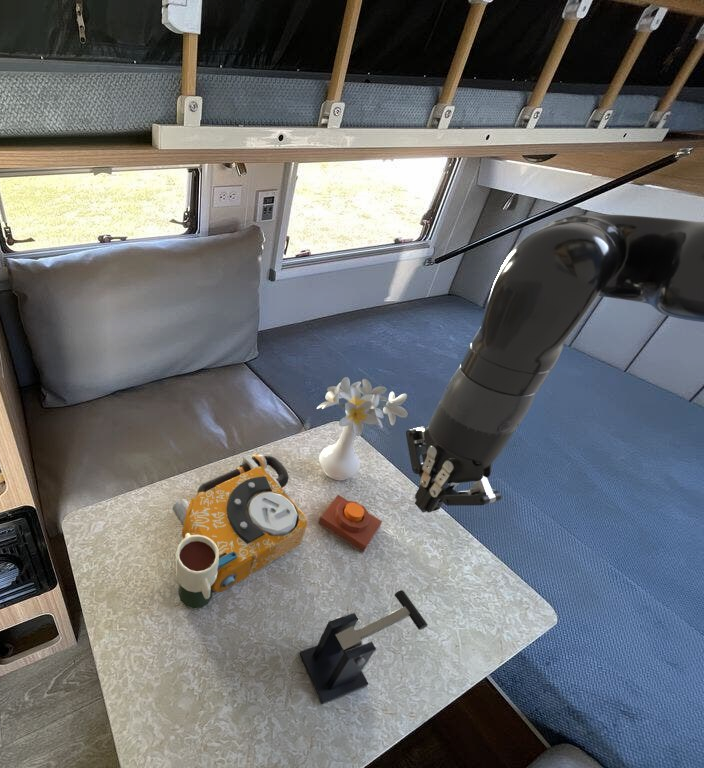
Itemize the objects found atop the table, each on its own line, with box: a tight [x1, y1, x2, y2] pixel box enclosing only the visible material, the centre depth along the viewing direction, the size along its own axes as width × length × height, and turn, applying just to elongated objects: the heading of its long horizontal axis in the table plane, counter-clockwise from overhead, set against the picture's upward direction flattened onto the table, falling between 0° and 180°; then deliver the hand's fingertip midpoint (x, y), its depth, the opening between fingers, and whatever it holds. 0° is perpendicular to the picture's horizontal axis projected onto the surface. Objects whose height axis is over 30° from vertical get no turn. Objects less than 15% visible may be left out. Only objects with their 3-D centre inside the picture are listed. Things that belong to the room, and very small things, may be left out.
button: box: [344, 502, 364, 522], centre depth 83 cm, size 4×4×2 cm
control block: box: [318, 494, 383, 553], centre depth 84 cm, size 10×8×4 cm
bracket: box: [298, 612, 377, 705], centre depth 60 cm, size 8×7×13 cm
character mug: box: [175, 533, 219, 610], centre depth 70 cm, size 11×7×13 cm, turn 19°
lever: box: [335, 589, 429, 652], centre depth 58 cm, size 12×5×2 cm, turn 107°
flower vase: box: [316, 376, 409, 482], centre depth 91 cm, size 13×18×25 cm
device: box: [172, 453, 308, 593], centre depth 83 cm, size 23×8×30 cm
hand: (423, 506), depth 55 cm, fingers closed
